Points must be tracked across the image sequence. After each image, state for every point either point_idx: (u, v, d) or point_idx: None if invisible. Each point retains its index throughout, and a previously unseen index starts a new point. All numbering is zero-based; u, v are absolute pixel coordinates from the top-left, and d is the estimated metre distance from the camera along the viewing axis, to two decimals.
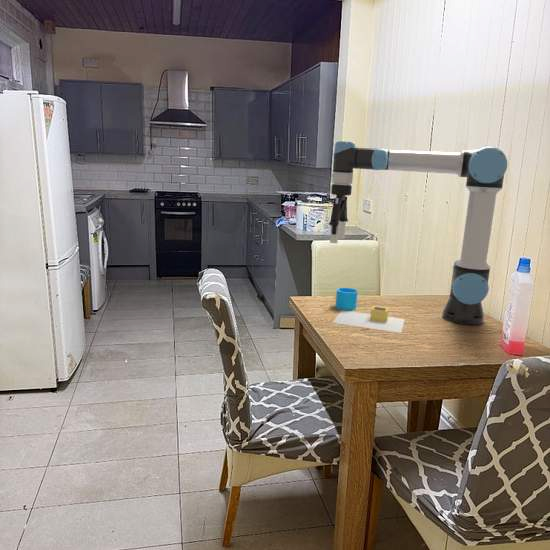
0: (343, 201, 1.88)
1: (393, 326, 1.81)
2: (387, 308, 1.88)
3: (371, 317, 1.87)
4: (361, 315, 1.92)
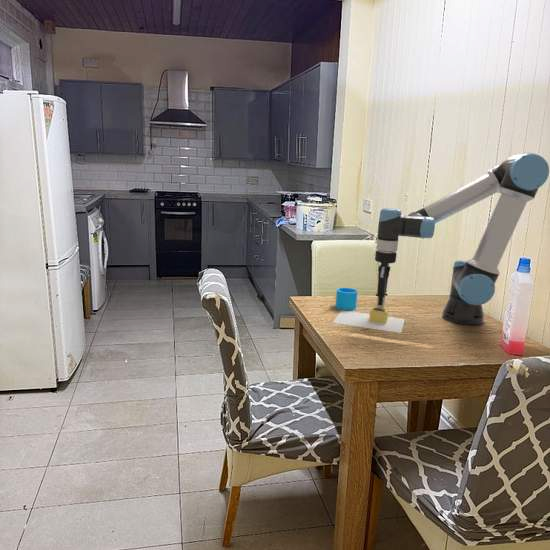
0: (387, 270, 1.85)
1: (393, 326, 1.81)
2: (386, 309, 1.87)
3: (370, 318, 1.85)
4: (361, 315, 1.92)
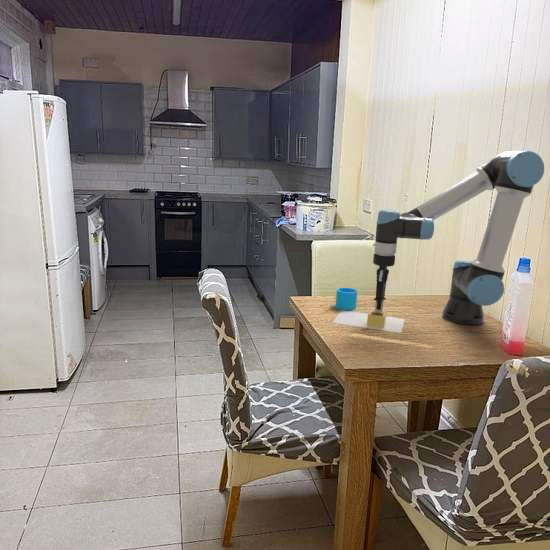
0: (386, 273, 1.79)
1: (393, 326, 1.81)
2: (384, 313, 1.82)
3: (368, 323, 1.80)
4: (361, 315, 1.92)
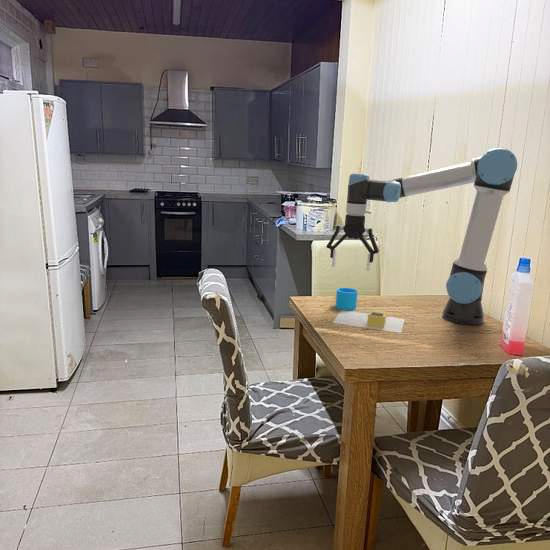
0: (348, 230, 1.95)
1: (393, 326, 1.81)
2: (385, 313, 1.81)
3: (368, 323, 1.80)
4: (361, 315, 1.92)
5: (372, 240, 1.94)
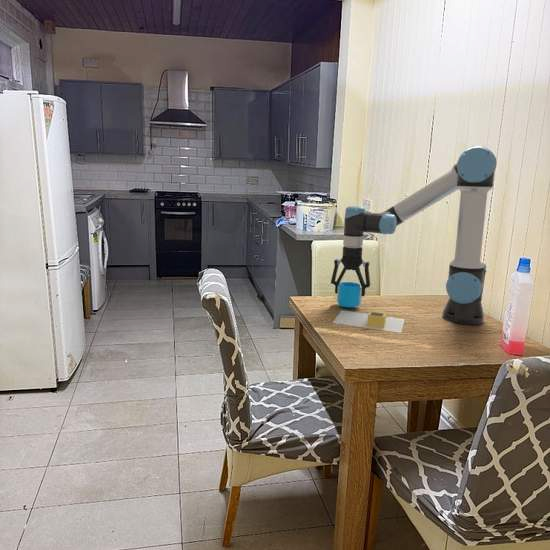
0: (346, 262, 1.98)
1: (393, 326, 1.81)
2: (385, 313, 1.81)
3: (368, 323, 1.80)
4: (361, 315, 1.92)
5: (366, 274, 1.97)
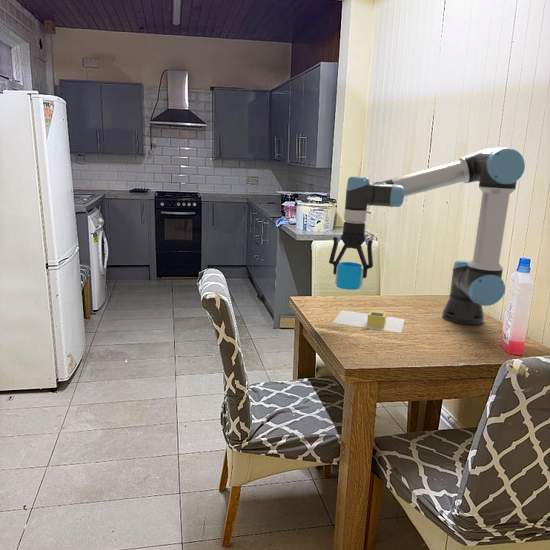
0: (347, 239, 1.77)
1: (393, 326, 1.81)
2: (385, 313, 1.81)
3: (368, 323, 1.80)
4: (361, 315, 1.92)
5: (369, 253, 1.76)
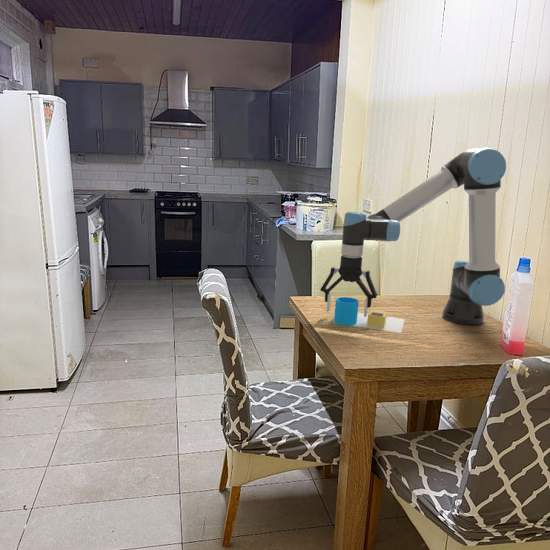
0: (344, 273, 1.80)
1: (393, 326, 1.81)
2: (385, 313, 1.81)
3: (368, 323, 1.80)
4: (361, 315, 1.92)
5: (370, 284, 1.78)
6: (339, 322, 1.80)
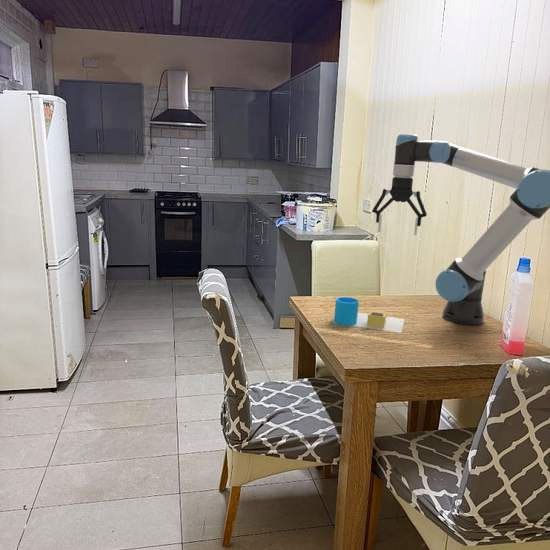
0: (395, 193, 1.91)
1: (393, 326, 1.81)
2: (385, 313, 1.81)
3: (368, 323, 1.80)
4: (361, 315, 1.92)
5: (420, 203, 1.89)
6: (339, 322, 1.80)
